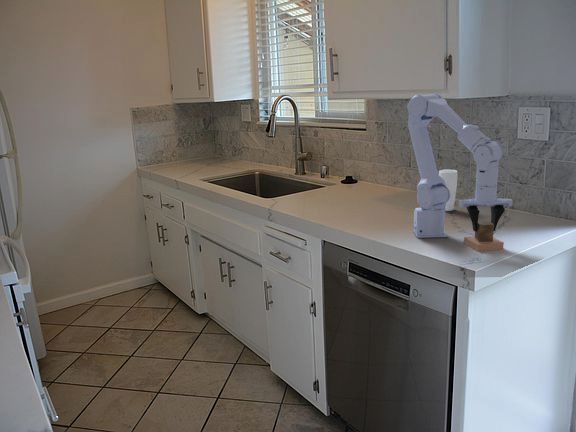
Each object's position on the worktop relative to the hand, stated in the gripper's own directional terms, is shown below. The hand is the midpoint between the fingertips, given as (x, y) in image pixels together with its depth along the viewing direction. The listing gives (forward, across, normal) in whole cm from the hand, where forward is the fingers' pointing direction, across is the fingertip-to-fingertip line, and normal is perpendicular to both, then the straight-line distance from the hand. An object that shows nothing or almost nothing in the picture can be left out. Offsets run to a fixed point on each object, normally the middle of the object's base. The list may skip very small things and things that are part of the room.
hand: (483, 230), depth 151 cm
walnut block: (+3, 0, 0) cm, 3 cm away
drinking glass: (+5, 0, +45) cm, 45 cm away
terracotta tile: (+5, 0, 0) cm, 5 cm away
